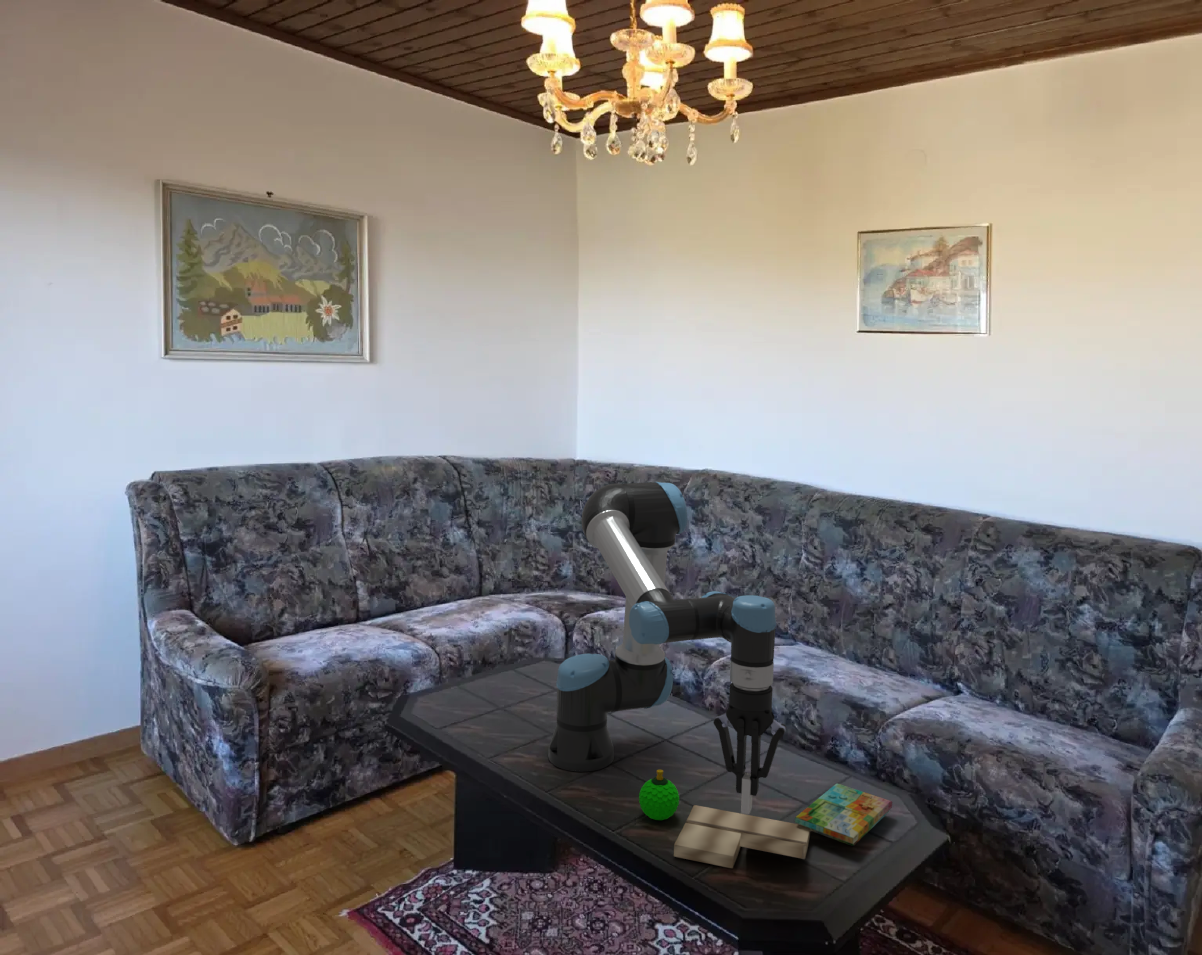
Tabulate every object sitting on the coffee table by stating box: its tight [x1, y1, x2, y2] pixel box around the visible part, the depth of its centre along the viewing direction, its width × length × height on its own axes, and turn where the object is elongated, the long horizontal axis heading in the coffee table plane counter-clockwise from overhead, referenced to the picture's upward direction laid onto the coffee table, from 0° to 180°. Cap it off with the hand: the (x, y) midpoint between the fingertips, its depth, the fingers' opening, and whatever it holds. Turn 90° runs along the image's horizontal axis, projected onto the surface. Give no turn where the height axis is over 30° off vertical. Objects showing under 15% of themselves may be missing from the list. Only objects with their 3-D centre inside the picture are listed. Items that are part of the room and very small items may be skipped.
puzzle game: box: [794, 783, 893, 847], centre depth 175 cm, size 12×5×20 cm
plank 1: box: [673, 822, 741, 869], centre depth 166 cm, size 11×9×2 cm
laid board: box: [685, 804, 811, 858], centre depth 172 cm, size 23×7×2 cm, turn 71°
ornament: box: [638, 769, 680, 821], centre depth 177 cm, size 8×8×10 cm
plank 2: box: [739, 833, 807, 860], centre depth 162 cm, size 11×9×2 cm
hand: (746, 810), depth 159 cm, fingers closed
